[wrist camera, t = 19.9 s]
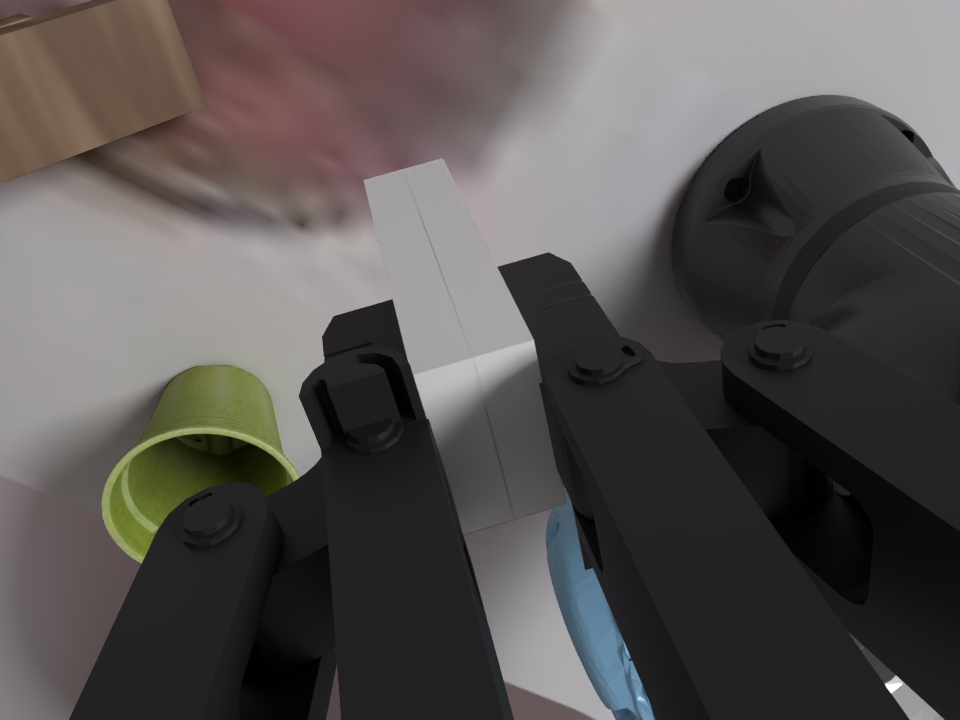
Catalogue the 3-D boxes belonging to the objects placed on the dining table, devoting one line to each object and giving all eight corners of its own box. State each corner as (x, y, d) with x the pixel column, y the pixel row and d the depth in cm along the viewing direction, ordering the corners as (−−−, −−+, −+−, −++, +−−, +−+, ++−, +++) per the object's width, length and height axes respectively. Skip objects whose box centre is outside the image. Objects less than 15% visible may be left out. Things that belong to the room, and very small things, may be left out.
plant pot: (92, 415, 46) (57, 523, 39) (201, 303, 44) (187, 395, 37) (228, 495, 51) (220, 603, 44) (334, 397, 49) (343, 495, 42)
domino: (162, -14, 34) (-98, 65, 30) (207, 105, 37) (-25, 193, 33) (145, -16, 36) (-104, 59, 32) (190, 98, 39) (-34, 181, 34)
